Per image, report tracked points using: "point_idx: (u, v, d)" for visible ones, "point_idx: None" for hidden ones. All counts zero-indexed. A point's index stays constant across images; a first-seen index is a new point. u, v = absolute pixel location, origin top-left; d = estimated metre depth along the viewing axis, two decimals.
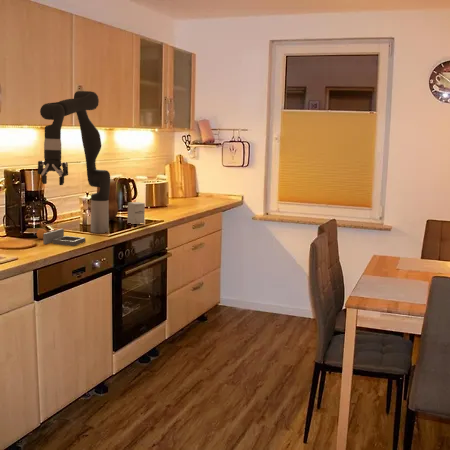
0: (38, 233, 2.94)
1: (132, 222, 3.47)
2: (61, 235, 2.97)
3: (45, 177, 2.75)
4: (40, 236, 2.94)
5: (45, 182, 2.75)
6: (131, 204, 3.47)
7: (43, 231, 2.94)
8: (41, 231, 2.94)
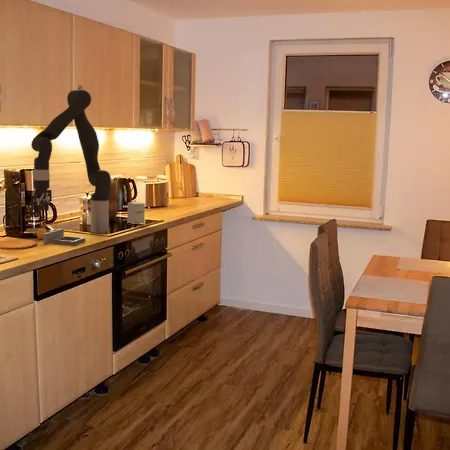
0: (38, 233, 2.94)
1: (132, 222, 3.47)
2: (61, 235, 2.97)
3: None
4: (40, 236, 2.94)
5: None
6: (131, 204, 3.47)
7: (43, 231, 2.94)
8: (41, 231, 2.94)
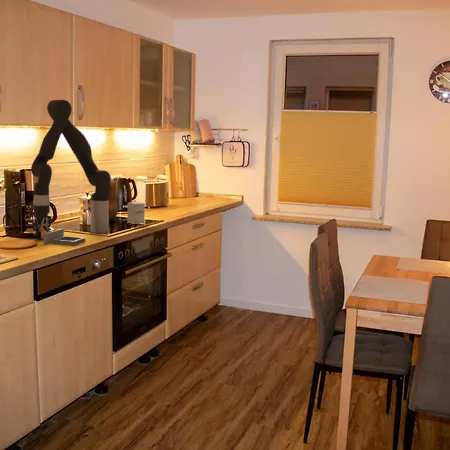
0: None
1: (132, 222, 3.47)
2: (61, 235, 2.97)
3: None
4: None
5: None
6: (131, 204, 3.47)
7: (43, 231, 2.94)
8: (41, 231, 2.94)
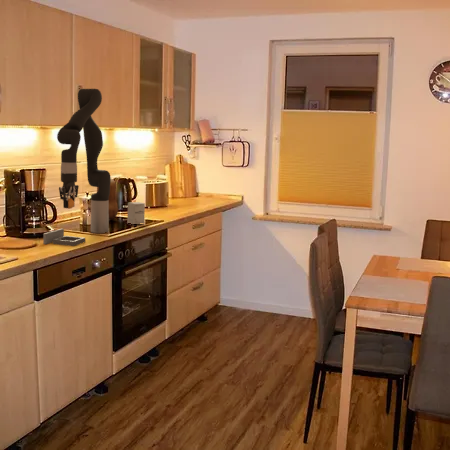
0: None
1: (132, 222, 3.47)
2: (61, 235, 2.97)
3: None
4: None
5: None
6: (131, 204, 3.47)
7: (70, 200, 2.85)
8: (68, 200, 2.85)
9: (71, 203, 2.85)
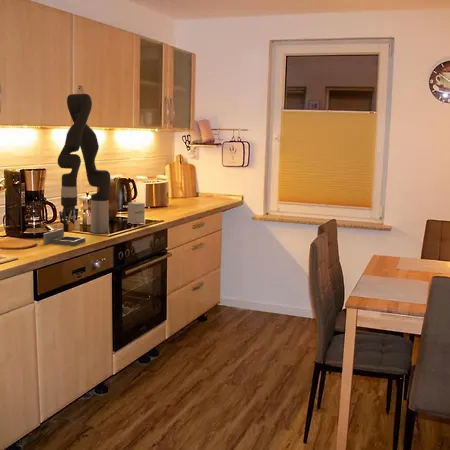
0: None
1: (132, 222, 3.47)
2: (61, 235, 2.97)
3: None
4: None
5: None
6: (131, 204, 3.47)
7: (70, 224, 2.87)
8: (68, 224, 2.87)
9: (71, 227, 2.87)
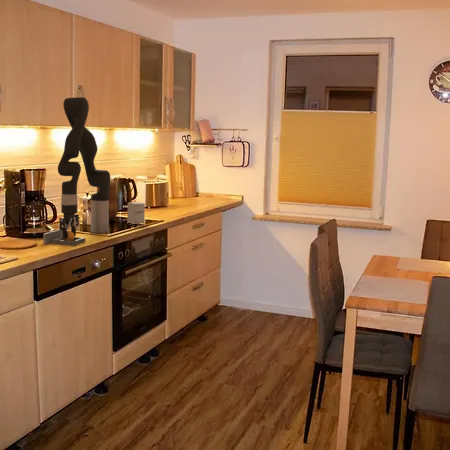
0: None
1: (132, 222, 3.47)
2: (61, 235, 2.97)
3: None
4: (68, 239, 2.87)
5: None
6: (131, 204, 3.47)
7: (71, 233, 2.88)
8: (69, 233, 2.88)
9: (71, 236, 2.88)
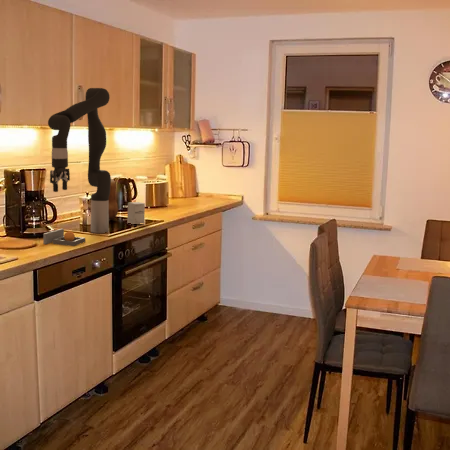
0: (66, 236, 2.87)
1: (132, 222, 3.47)
2: (61, 235, 2.97)
3: None
4: (68, 239, 2.87)
5: None
6: (131, 204, 3.47)
7: (71, 234, 2.88)
8: (69, 234, 2.88)
9: (71, 236, 2.88)
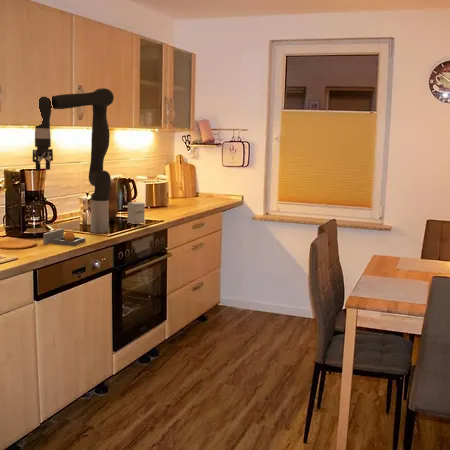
0: (66, 236, 2.87)
1: (132, 222, 3.47)
2: (61, 235, 2.97)
3: None
4: (68, 239, 2.87)
5: None
6: (131, 204, 3.47)
7: (71, 234, 2.88)
8: (69, 234, 2.87)
9: (71, 236, 2.88)
